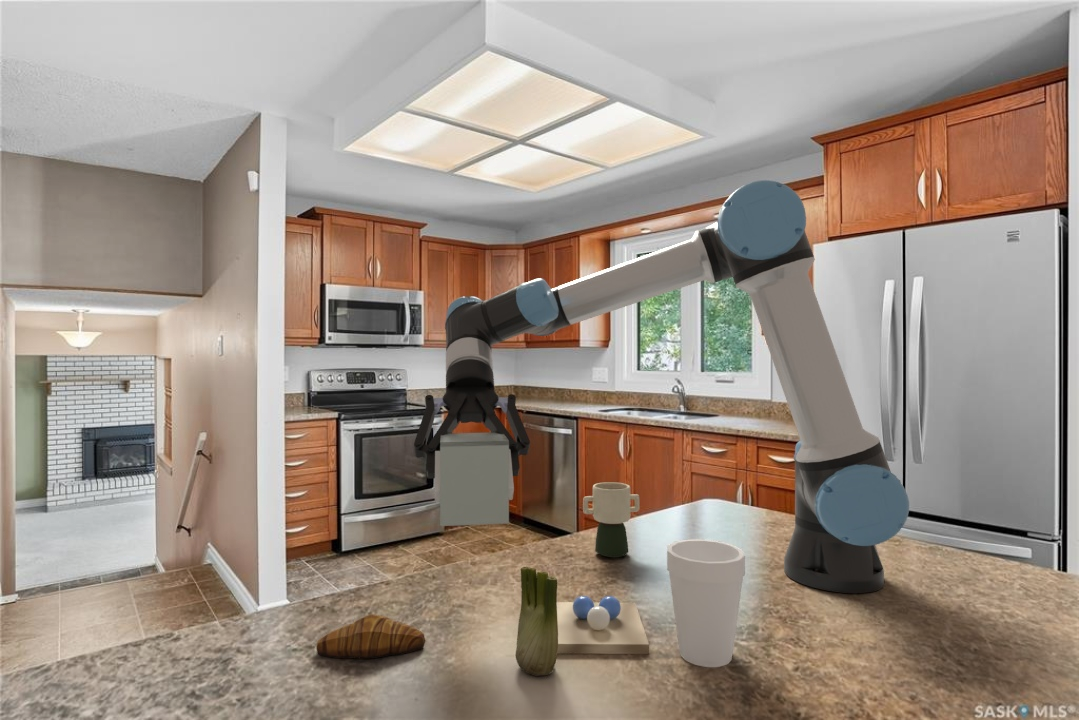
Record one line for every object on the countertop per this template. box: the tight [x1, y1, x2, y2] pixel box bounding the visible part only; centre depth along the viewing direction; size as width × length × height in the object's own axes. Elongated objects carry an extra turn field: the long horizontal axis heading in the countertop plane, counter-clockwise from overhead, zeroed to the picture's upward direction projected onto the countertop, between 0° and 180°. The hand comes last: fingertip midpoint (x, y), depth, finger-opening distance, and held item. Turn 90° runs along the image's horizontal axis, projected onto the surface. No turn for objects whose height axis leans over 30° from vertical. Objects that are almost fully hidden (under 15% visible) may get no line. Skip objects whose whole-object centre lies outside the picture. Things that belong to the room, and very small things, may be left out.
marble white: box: [587, 606, 610, 631], centre depth 81 cm, size 3×3×3 cm
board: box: [557, 601, 650, 655], centre depth 83 cm, size 16×13×1 cm
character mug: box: [582, 481, 641, 558], centre depth 114 cm, size 11×7×13 cm, turn 99°
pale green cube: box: [439, 432, 510, 527], centre depth 85 cm, size 9×9×11 cm
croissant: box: [315, 613, 426, 660], centre depth 77 cm, size 14×7×5 cm, turn 97°
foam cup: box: [666, 538, 746, 668], centre depth 76 cm, size 10×9×13 cm
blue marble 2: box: [599, 595, 621, 619], centre depth 84 cm, size 3×3×3 cm
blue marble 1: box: [573, 595, 594, 619], centre depth 84 cm, size 3×3×3 cm
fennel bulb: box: [515, 566, 558, 677], centre depth 73 cm, size 6×5×12 cm
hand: (474, 495), depth 82 cm, fingers closed on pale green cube, 9 cm apart
